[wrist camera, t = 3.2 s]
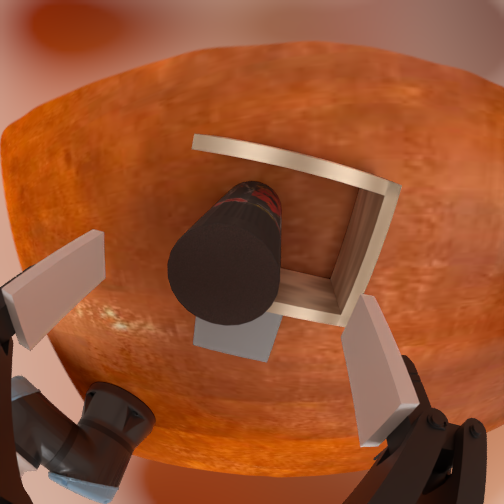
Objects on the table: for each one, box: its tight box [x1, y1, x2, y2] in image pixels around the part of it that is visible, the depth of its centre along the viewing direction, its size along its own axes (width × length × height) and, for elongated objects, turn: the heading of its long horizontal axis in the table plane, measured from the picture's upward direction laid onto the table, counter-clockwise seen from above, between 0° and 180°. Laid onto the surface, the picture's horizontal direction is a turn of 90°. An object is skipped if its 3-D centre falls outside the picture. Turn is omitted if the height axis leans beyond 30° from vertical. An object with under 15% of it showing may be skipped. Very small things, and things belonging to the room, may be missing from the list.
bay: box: [192, 134, 402, 327], centre depth 25 cm, size 16×13×7 cm
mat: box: [193, 312, 283, 362], centre depth 33 cm, size 10×10×1 cm
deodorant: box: [168, 181, 282, 326], centre depth 21 cm, size 6×6×15 cm
